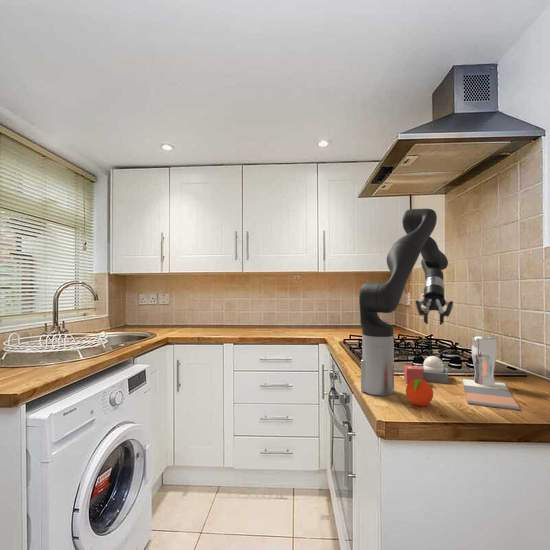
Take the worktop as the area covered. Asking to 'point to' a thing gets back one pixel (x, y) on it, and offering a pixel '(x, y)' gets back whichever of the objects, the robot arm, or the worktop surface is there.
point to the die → (412, 373)
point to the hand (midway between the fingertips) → (433, 322)
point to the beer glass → (484, 360)
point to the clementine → (419, 392)
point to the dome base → (436, 376)
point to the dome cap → (433, 364)
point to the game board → (489, 395)
